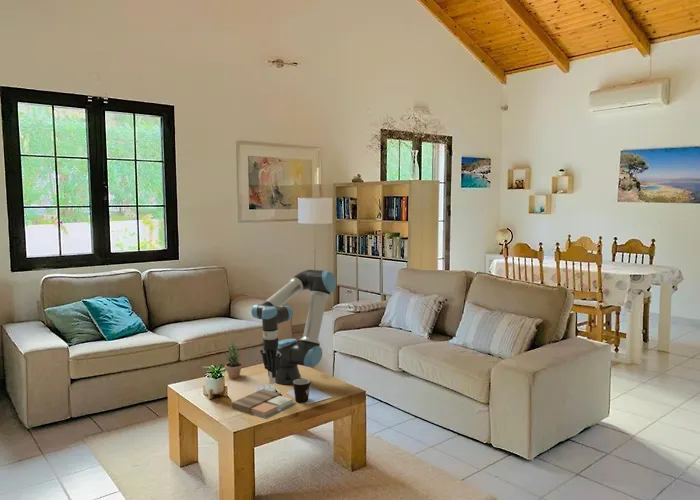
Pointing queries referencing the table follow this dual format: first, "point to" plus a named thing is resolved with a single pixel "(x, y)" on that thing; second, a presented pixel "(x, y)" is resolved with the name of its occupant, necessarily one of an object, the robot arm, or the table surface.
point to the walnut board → (253, 400)
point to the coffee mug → (301, 390)
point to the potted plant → (233, 361)
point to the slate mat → (275, 411)
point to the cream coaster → (280, 401)
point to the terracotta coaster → (264, 409)
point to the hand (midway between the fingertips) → (272, 383)
